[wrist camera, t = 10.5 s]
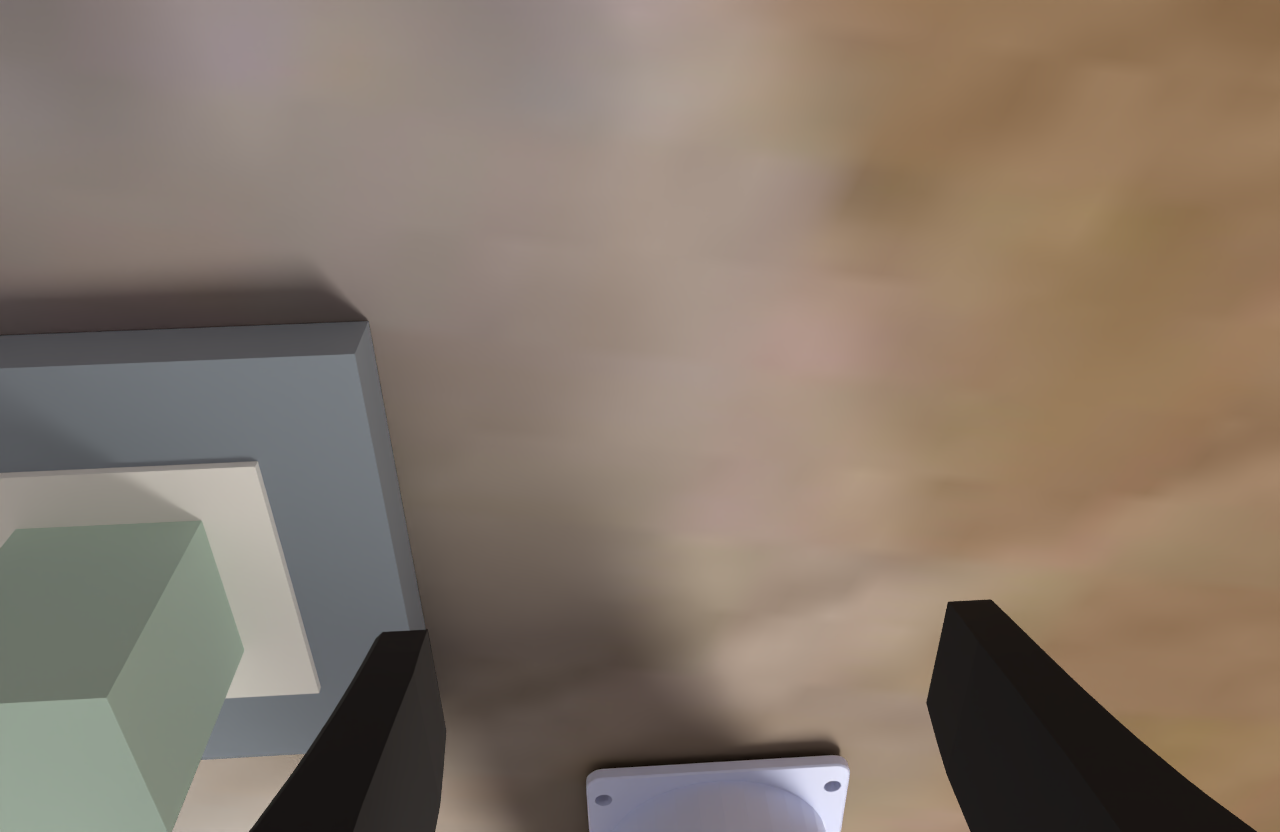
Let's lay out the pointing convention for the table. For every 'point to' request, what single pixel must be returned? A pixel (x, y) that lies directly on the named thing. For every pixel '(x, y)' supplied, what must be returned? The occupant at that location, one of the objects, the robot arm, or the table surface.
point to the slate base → (230, 490)
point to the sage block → (108, 673)
